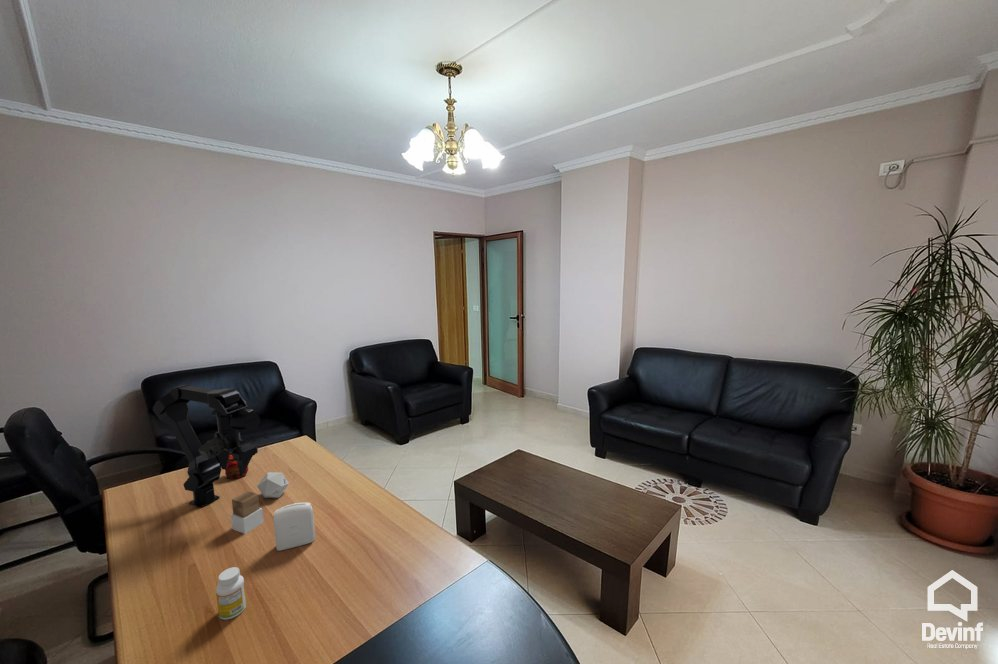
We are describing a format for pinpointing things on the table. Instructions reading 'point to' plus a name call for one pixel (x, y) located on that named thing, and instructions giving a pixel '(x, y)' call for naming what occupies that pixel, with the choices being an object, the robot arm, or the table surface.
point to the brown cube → (245, 504)
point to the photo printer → (294, 525)
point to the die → (273, 485)
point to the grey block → (247, 521)
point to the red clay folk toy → (233, 469)
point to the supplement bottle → (230, 593)
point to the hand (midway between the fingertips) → (233, 471)
